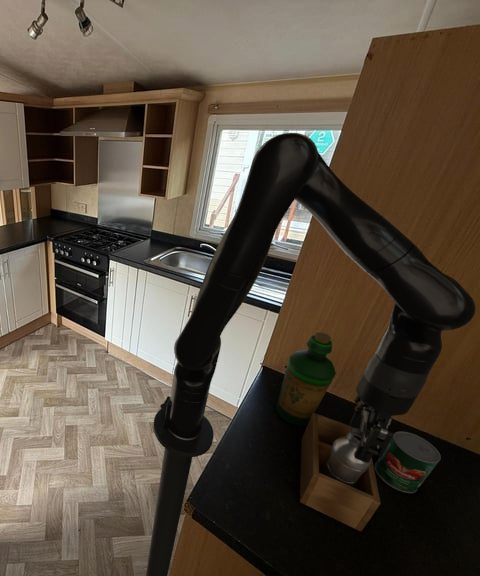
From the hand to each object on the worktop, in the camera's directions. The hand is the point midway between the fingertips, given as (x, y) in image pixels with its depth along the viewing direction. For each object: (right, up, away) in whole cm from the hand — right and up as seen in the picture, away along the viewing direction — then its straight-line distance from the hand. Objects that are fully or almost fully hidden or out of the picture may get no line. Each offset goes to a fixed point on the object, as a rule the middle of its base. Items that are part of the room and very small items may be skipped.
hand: (357, 442), depth 63 cm
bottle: (+5, -6, +29) cm, 30 cm away
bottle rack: (+2, -14, +11) cm, 19 cm away
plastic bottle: (0, -16, +8) cm, 18 cm away
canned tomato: (+19, -14, +12) cm, 27 cm away
